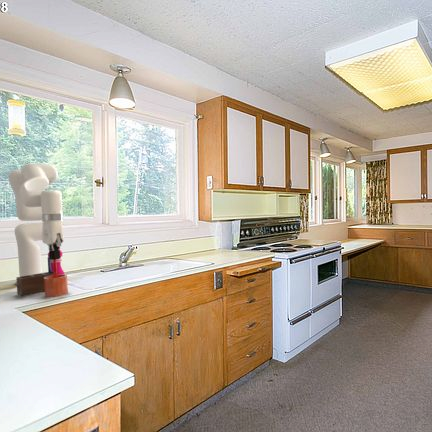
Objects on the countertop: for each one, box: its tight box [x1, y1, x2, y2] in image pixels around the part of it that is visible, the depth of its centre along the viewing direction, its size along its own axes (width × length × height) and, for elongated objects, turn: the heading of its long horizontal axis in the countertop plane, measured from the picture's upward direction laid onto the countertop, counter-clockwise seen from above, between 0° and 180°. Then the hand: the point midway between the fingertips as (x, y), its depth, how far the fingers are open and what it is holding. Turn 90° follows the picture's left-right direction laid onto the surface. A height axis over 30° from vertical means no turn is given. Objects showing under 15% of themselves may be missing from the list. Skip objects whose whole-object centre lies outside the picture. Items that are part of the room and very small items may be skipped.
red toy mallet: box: [53, 259, 58, 278], centre depth 142 cm, size 3×1×16 cm, turn 57°
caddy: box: [15, 271, 59, 297], centre depth 147 cm, size 5×15×9 cm, turn 148°
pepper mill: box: [47, 249, 66, 274], centre depth 162 cm, size 7×7×20 cm
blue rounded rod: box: [47, 256, 51, 274], centre depth 151 cm, size 3×1×16 cm, turn 57°
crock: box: [44, 273, 69, 298], centre depth 142 cm, size 8×8×9 cm
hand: (54, 258), depth 141 cm, fingers closed on red toy mallet, 1 cm apart
